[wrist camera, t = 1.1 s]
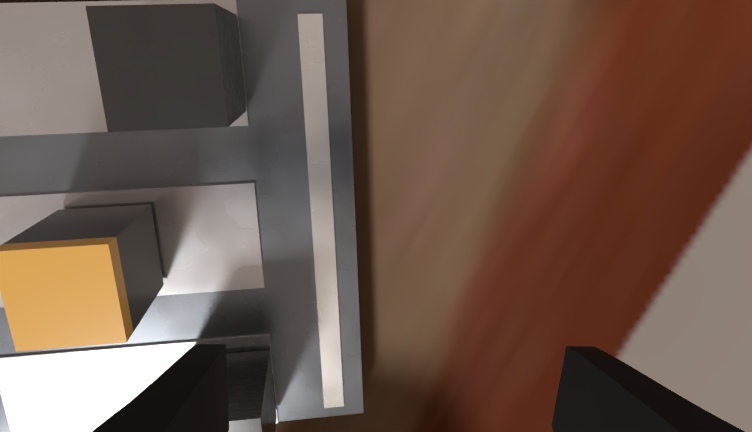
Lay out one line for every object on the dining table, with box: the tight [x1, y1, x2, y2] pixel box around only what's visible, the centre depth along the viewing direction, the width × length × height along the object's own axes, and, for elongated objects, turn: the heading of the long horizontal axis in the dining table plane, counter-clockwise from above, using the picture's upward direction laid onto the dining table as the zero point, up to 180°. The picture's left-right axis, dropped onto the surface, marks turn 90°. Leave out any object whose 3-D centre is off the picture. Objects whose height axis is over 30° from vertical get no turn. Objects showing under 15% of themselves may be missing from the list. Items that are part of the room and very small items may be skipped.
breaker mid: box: [0, 204, 164, 352], centre depth 16 cm, size 3×3×4 cm
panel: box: [0, 0, 364, 432], centre depth 17 cm, size 17×16×6 cm
